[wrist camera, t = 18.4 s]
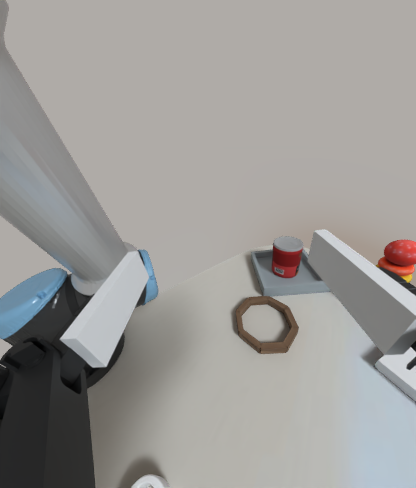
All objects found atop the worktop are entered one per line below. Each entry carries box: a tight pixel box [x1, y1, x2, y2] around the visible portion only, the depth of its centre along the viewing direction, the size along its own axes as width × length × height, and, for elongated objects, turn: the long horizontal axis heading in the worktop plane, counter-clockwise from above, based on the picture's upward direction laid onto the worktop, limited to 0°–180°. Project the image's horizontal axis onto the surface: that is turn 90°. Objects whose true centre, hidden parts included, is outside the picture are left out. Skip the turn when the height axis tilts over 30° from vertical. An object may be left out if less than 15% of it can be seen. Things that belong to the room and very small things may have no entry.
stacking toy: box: [376, 240, 416, 283], centre depth 35 cm, size 8×8×19 cm
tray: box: [251, 249, 330, 296], centre depth 52 cm, size 18×18×4 cm
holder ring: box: [236, 296, 299, 354], centre depth 39 cm, size 13×13×2 cm
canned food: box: [272, 236, 303, 278], centre depth 50 cm, size 8×8×11 cm
